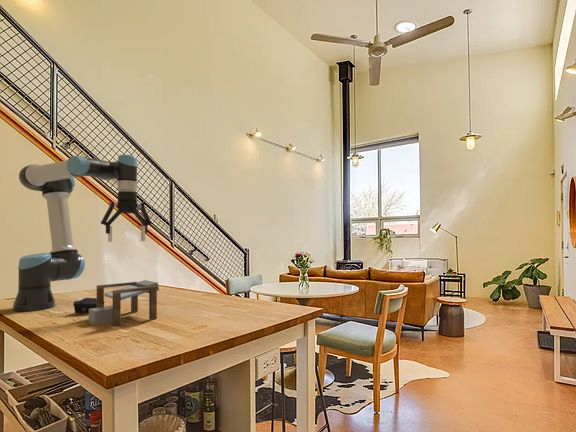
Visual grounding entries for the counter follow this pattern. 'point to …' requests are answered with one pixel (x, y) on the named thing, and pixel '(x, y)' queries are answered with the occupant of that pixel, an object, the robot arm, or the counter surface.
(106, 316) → the grey rectangular block
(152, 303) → the trapdoor frame
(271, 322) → the counter surface
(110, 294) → the trapdoor
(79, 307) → the rock
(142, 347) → the counter surface
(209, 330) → the counter surface
